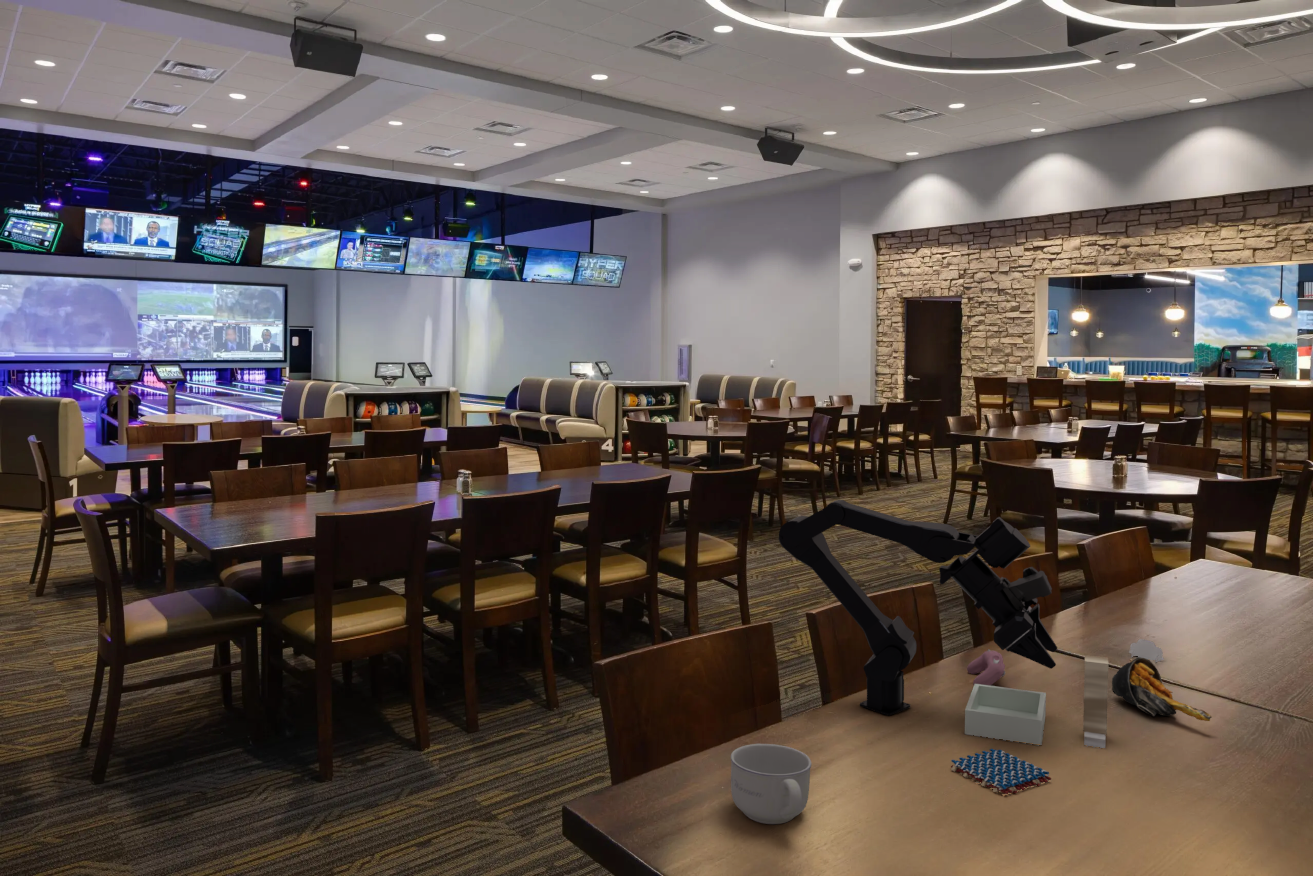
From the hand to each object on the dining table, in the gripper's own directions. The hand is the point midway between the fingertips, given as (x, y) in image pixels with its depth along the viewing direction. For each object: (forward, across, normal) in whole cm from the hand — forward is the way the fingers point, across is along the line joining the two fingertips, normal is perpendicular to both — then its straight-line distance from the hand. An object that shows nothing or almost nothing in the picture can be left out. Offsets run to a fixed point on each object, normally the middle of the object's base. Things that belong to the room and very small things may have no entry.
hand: (1054, 658), depth 149 cm
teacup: (-15, -46, +32) cm, 58 cm away
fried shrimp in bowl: (+20, +15, -2) cm, 25 cm away
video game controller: (0, +21, +18) cm, 28 cm away
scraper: (+13, 0, +4) cm, 14 cm away
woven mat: (+5, -20, +14) cm, 25 cm away
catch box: (+4, 0, +14) cm, 14 cm away
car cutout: (+18, +50, +1) cm, 53 cm away
